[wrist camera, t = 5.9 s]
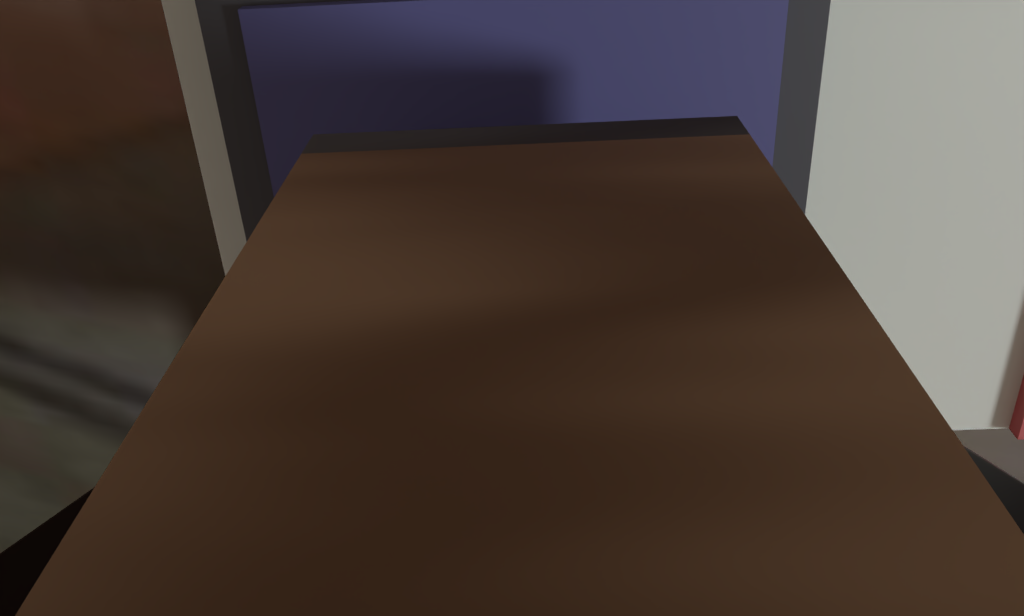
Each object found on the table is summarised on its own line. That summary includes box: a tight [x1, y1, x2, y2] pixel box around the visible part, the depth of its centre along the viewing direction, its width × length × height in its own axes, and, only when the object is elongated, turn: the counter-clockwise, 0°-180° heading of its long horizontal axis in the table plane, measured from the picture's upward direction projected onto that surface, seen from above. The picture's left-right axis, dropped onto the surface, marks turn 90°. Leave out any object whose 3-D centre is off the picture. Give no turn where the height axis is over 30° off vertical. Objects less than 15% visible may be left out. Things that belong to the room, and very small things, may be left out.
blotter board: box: [161, 0, 1024, 439], centre depth 13 cm, size 22×8×2 cm, turn 93°
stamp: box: [15, 116, 1024, 616], centre depth 7 cm, size 4×4×7 cm
